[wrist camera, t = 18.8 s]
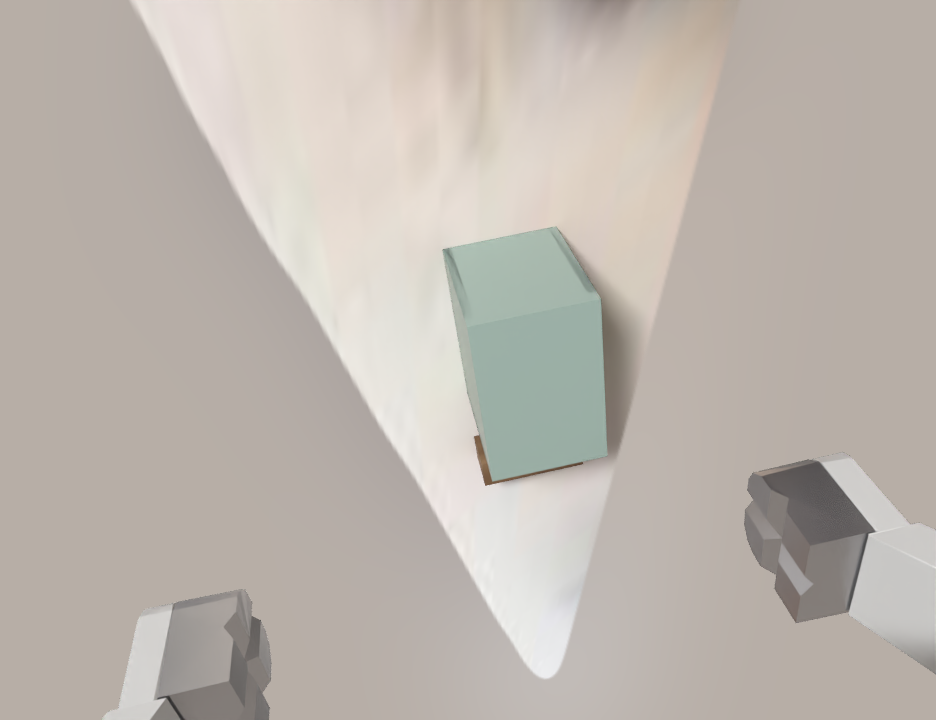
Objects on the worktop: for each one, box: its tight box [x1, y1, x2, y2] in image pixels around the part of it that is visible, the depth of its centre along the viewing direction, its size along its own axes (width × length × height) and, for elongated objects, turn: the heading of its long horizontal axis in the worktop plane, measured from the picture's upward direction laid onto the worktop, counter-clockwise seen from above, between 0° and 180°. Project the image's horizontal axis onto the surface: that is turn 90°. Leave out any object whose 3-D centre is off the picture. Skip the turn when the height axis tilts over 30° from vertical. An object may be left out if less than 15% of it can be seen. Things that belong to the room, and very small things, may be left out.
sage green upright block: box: [443, 227, 607, 482], centre depth 46 cm, size 11×7×9 cm, turn 8°
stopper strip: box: [474, 435, 583, 486], centre depth 54 cm, size 2×7×3 cm, turn 98°
